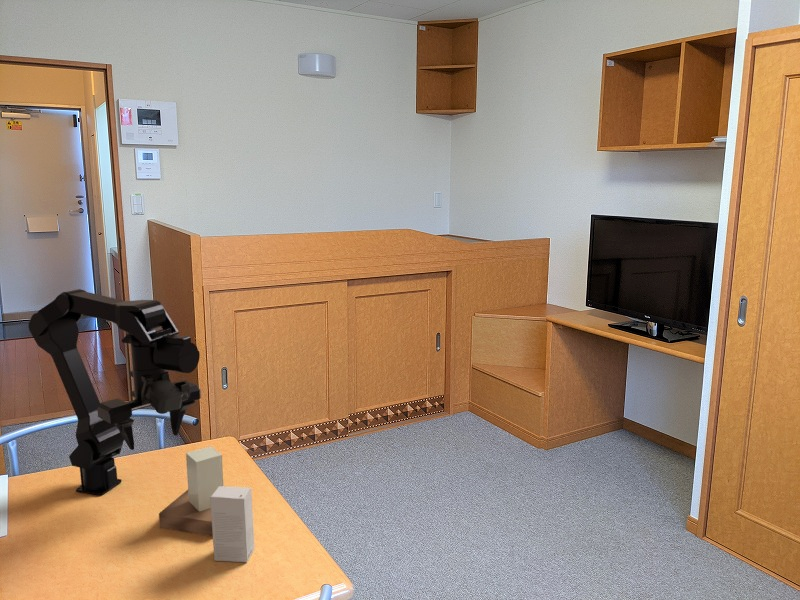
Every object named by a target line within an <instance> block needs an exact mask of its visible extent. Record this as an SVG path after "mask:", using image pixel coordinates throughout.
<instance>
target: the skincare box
mask: <svg viewBox="0 0 800 600" xmlns="http://www.w3.org/2000/svg"><path fill="white" fill-rule="evenodd" d="M252 496H253V495H252V487H250V486H249V487H248V486H246V487H244V486H225V485H223V486H219V487H218V488H217V489H216V491H215V492H214V493H213V494H212V496H211V497H210V503H211V517H212V532H213V537H212V545H213V558H214V561H215V562H218V561H219V562H233V563H234V562H236V563H248V561H249V560H250V558H251V556H252V554H253V553H254V551H255V533H254V532H255V531H254V515H253V499H252V498H253V497H252Z"/></svg>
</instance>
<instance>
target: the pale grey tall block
mask: <svg viewBox="0 0 800 600" xmlns="http://www.w3.org/2000/svg"><path fill="white" fill-rule="evenodd" d="M185 457H186V458H185V460H186V474H187V475H186V477H187V478H186V479H187V490H188V495H189V502H190V503H191V504H192V505H193V506H194V507H195V508H196V509H197V510H198V511H199V512H200V511H203V510H206V509H209V508H211V503H210V497H211V496H212V494H213V493H214V492H215V491H216V489H217V488H218V487H219V486H224V472H223V455H222V453H220V452H219V451H218V450H217V449H215V448H214V447H213V446H206V447H203V448H199V449H196V450H191V451H189V452H186V453H185Z"/></svg>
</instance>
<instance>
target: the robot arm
mask: <svg viewBox="0 0 800 600" xmlns="http://www.w3.org/2000/svg"><path fill="white" fill-rule="evenodd" d="M84 316H87V317H91V318H95V319H99V320H103V321H107V322H111V323H114V324H115V325H116V326H117V328H118V329H120V330H121V331H123V332H125V333H127V334H126V335H125V336H124V337H123V338H122V339H121V343H123V344H129V345H130V351H131V364H132V367H131V368H132V370H129V376H130V377H131V378H133V390H131V393H130V394H131V397H133V398H134V399H132V400H128V401H124V400H123V399H120V398H114V399H110V400H109V399H108V400H106V401H103V402H101V401H100V399H99V396H98V395H97V392H96V389H95V387H94V384H93V383H92V380H91V377H90V375H89V373H88V370H87V368H86V365H85V363H84V361H83V359H82V358H83V357H82V356H81V354H80V352H79V348H78V346H77V345H78V340H79V335H80V334H79V333H80V329H79V326H78V323H79V321H81V319H82V318H83V317H84ZM159 329H160V330H159ZM28 330H29V333H30V334H31V336H32V338H33V340H34V341H35V343H36V345H37V346H38V347H39V348H41V349H42V350H43V351H45V352H46V353H48V354H49V355H50V356H51V358H52V360H53V362H54V365H55V367H56V369H57V372H58V374H59V378H60V379H61V382H62V384H63V387H64V389H65V392H66V394H67V397H68V399H69V401H70V403H71V405H72V406H71V407H72V408H73V411H74V413H75V415H76V418H77V426H76V430H75V439H76V442H77V446H76V447H75V448H74V450H73V451H71V453H70V454H69V455H68V458H69V460H70V463H71V466H72V467H75V468H79V473H80V483H81V485H80V486H78V487H76V488H75V491H76V493H84V494H90V495H96V496H103V495H105V494H106V493H107V492H109V491H111V490H112V489H114V488H115V487H116V486H118V485H119V484H121V483H122V481H123V480H122V479H121V478H118V472H117V471H118V470H117V466H116V463H115V458H114V457H115V456H117V455H120V454H121V452H122V448H123V444H124V441H125V444H126V445H127V447H128V448H129V450H131V451H133V450H135V439H134V434H133V433H134V432H133V424H134V422H135V419H133V418H131V417H132V416H133V411H137V410H141V409H144V408H148V407H151V406H152V407H153V408H154V410H155V411H156V413H158V414H160V415H165V414H168V412H169V418H170V427H171V431H172V435H174V436H175V437H177V436H178V435H179V432H180V428H181V425H182V422H183V419H184V415H185V414H186V411H187V410H188V408H190V407H191V406H192V405H194V404H195V403H196V401H197V400H200V399H201V397H202V394H201V393H202V391H201V389H200V386H199V385H197V384H195V383H193V382H190V381H187V380H185V379H184V380H181V381H175V382H172V381H171V380H170V379H171V378H170V374H169V372H170V371H172V372H176V373H177V372H178V373H184V374H190V373H193V371H195V369H196V368H197V367H198V366H199V362H200V355H201V353H200V351H199V348H198V347H197V345H196V344H195V343H194V342H192V338H191V336H190V335H184V336H183V335H179V334H180V331H179V329H178V328H177V327H176V324H175V323H174V322H173V320H172V318H171V317H170V316H169V314H168V313H167V310H166V309H165V308H164V306H163V304H162V303H161V302H160V300H157V299H137V300H136V299H135V300H125V299H124V300H123V299H118V298H115V297H111V296H106V295H101V294H96V293H93V292H90V291H86V290H84V289H81V288H79V289H78V288H77V289H73V290H67V291H63V292H61V293H60V294H59V295H57V296H56V297H55V299H54V300H52V301H51V302H49V303H48V304H46V305H45V306H43V307H42V308H41V309H39V310H38V311H37V312H36V313H34V314H32V316H31V317H30V320H29V322H28ZM156 330H157V331H156ZM149 332H150V333H149Z"/></svg>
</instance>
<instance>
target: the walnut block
mask: <svg viewBox="0 0 800 600" xmlns="http://www.w3.org/2000/svg"><path fill="white" fill-rule="evenodd" d="M158 519H159V529H163V530H169V531H176V532H180V533H181V532H183V533H188V534H194V535H199V536H206V537H211V538H213V532H212V517H211V508H209V509H206V510H203V511H200V512H199V511H198V510H197V509H196V508H195V507H194V506H193V505H192V504H191V503H190V502H189V495H188V489H186V490H185V492H183V493H182V494H181V495H180V496H178V497H177V498H175V500H173V501H172V502H171V503H169V504H168V505H167V506H166V507H164V509H162V510H161V511H160V512H159V513H158Z"/></svg>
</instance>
